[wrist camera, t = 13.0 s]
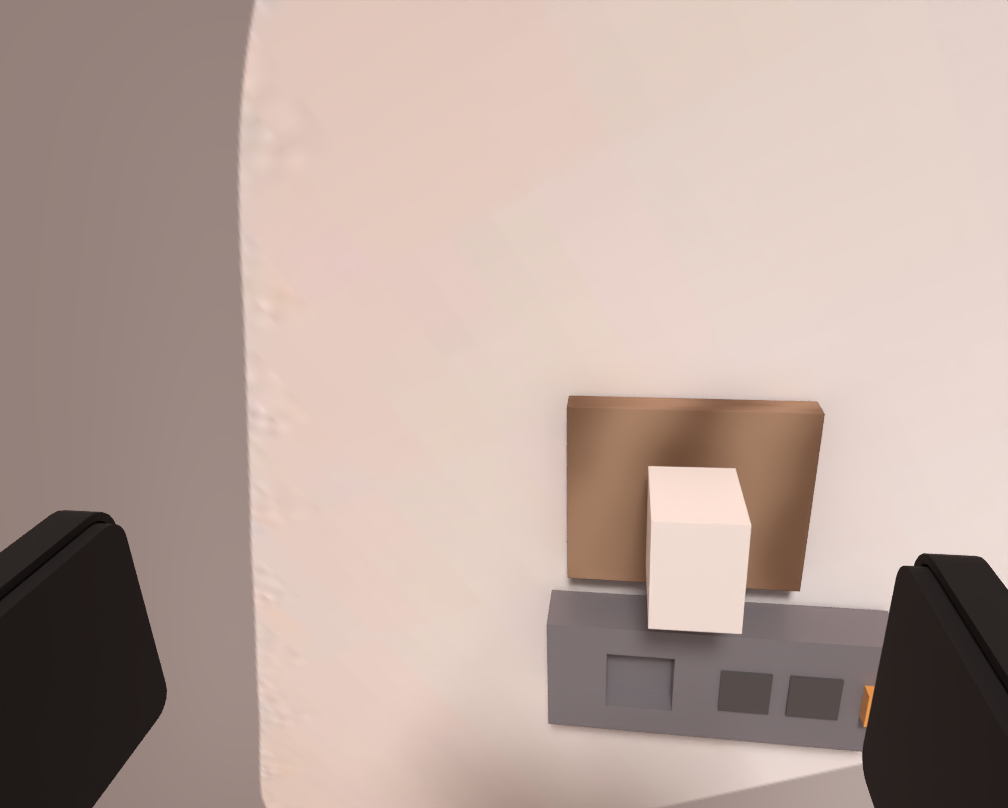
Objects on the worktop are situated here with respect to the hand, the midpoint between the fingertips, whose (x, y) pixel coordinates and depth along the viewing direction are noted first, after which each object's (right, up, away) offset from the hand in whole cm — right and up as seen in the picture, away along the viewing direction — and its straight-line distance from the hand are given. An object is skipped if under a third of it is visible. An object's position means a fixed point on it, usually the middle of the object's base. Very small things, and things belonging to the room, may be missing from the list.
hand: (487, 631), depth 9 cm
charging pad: (+10, -2, +30) cm, 32 cm away
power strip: (+12, -11, +34) cm, 38 cm away
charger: (+9, -2, +29) cm, 30 cm away
